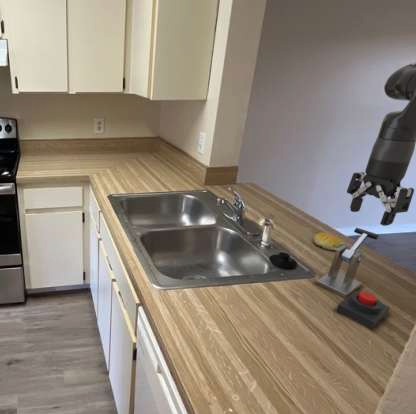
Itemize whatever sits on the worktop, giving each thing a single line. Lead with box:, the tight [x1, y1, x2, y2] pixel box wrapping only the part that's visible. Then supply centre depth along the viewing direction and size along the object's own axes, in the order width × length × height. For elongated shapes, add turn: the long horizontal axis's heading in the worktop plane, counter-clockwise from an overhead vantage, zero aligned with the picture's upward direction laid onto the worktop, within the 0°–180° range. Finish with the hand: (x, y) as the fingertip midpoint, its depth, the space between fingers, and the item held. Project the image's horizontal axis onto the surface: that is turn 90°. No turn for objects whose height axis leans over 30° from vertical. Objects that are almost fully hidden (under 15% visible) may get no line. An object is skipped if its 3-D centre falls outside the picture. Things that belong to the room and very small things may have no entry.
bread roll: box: [313, 232, 345, 251], centre depth 119 cm, size 8×9×4 cm
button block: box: [336, 290, 391, 330], centre depth 87 cm, size 10×8×4 cm
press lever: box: [341, 227, 380, 264], centre depth 96 cm, size 12×6×2 cm, turn 122°
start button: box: [358, 291, 378, 306], centre depth 86 cm, size 4×4×2 cm
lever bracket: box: [315, 244, 364, 299], centre depth 96 cm, size 10×8×12 cm
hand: (368, 217), depth 86 cm, fingers open, 8 cm apart
